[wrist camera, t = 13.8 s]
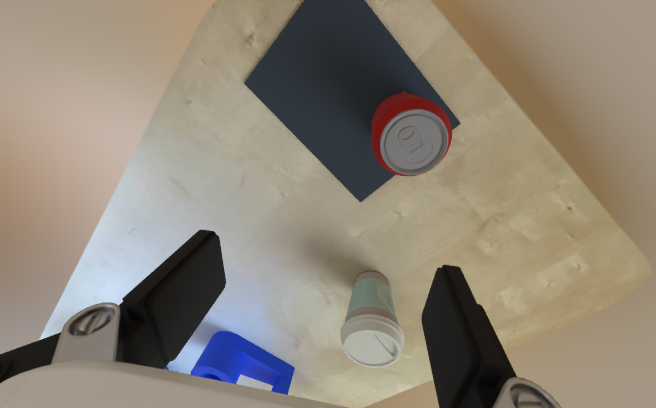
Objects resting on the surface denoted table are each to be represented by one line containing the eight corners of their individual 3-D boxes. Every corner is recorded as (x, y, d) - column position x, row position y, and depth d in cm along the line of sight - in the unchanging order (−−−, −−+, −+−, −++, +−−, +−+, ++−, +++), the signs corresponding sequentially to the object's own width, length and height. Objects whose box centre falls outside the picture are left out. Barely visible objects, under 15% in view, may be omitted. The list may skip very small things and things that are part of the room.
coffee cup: (396, 304, 45) (403, 374, 34) (347, 300, 46) (340, 366, 36) (399, 265, 41) (408, 330, 31) (346, 262, 43) (337, 323, 32)
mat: (245, 83, 33) (243, 83, 32) (333, -38, 26) (333, -40, 26) (360, 201, 38) (360, 202, 37) (459, 122, 31) (461, 123, 31)
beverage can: (390, 159, 34) (399, 196, 23) (361, 116, 32) (355, 135, 21) (439, 128, 31) (473, 153, 20) (409, 79, 29) (431, 79, 19)
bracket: (207, 347, 60) (186, 381, 53) (217, 325, 55) (195, 359, 49) (283, 382, 61) (272, 420, 54) (298, 363, 57) (288, 401, 50)
